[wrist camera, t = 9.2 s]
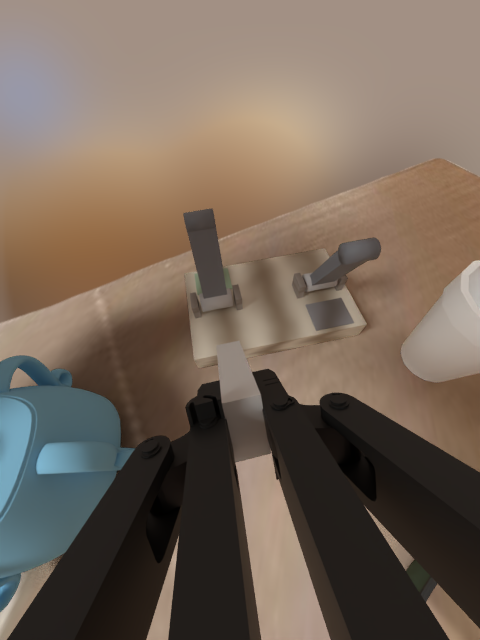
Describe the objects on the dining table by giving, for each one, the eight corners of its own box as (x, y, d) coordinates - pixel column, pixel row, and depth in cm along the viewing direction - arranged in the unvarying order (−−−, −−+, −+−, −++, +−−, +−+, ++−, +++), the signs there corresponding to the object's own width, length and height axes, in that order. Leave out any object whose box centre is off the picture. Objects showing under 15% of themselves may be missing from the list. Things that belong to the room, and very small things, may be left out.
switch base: (198, 368, 32) (189, 351, 27) (188, 286, 39) (180, 262, 34) (357, 335, 33) (375, 314, 29) (320, 261, 40) (329, 235, 36)
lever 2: (303, 293, 34) (346, 263, 21) (300, 277, 34) (339, 238, 22) (331, 288, 34) (388, 255, 22) (327, 271, 34) (381, 230, 22)
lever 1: (203, 315, 31) (178, 217, 24) (202, 305, 33) (178, 211, 26) (234, 309, 32) (218, 210, 24) (231, 300, 34) (216, 205, 26)
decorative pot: (7, 622, 21) (-304, 827, 9) (-37, 464, 27) (-256, 466, 15) (164, 470, 26) (93, 476, 14) (96, 367, 32) (8, 313, 21)
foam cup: (460, 333, 33) (568, 266, 22) (477, 403, 28) (625, 363, 17) (385, 321, 34) (450, 251, 23) (390, 385, 30) (473, 337, 18)
